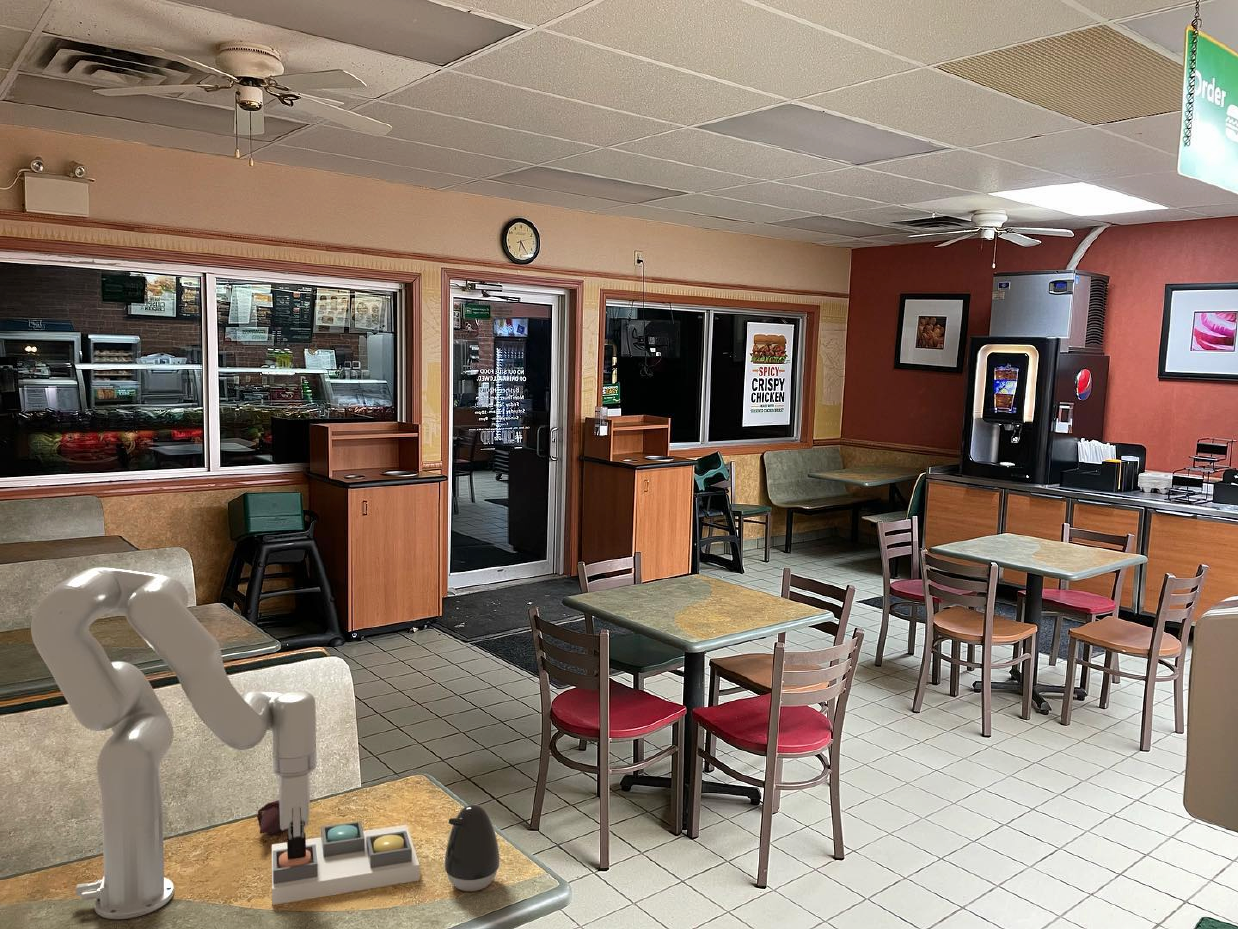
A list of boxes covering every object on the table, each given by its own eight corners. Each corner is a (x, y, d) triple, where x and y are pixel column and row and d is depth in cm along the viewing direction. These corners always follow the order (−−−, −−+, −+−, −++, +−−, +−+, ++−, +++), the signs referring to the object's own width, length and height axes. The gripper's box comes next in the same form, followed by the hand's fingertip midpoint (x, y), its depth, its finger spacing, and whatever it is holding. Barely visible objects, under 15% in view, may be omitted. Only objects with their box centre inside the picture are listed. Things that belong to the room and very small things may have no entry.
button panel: (272, 905, 164) (272, 875, 163) (271, 859, 179) (271, 832, 179) (419, 880, 173) (419, 852, 172) (406, 838, 189) (406, 813, 188)
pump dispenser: (432, 884, 172) (432, 806, 170) (476, 864, 179) (477, 789, 178) (466, 906, 165) (466, 824, 163) (510, 884, 172) (511, 806, 171)
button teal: (328, 852, 176) (328, 840, 176) (326, 839, 181) (326, 827, 181) (358, 848, 178) (358, 836, 178) (356, 835, 183) (356, 823, 183)
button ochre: (375, 863, 172) (375, 851, 172) (372, 849, 178) (372, 837, 177) (405, 858, 174) (405, 846, 174) (401, 845, 180) (401, 833, 179)
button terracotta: (279, 879, 166) (279, 866, 166) (278, 864, 172) (278, 851, 171) (311, 873, 168) (311, 861, 168) (310, 859, 174) (310, 847, 173)
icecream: (283, 820, 182) (309, 794, 197) (247, 810, 182) (277, 784, 197) (273, 854, 182) (301, 825, 197) (238, 844, 182) (268, 815, 197)
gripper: (272, 748, 174) (274, 841, 175) (273, 779, 160) (275, 880, 161) (314, 743, 177) (316, 834, 178) (318, 773, 163) (320, 873, 164)
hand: (296, 856), depth 170 cm, fingers closed
